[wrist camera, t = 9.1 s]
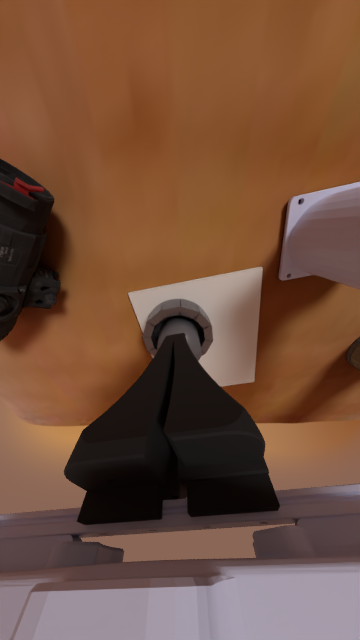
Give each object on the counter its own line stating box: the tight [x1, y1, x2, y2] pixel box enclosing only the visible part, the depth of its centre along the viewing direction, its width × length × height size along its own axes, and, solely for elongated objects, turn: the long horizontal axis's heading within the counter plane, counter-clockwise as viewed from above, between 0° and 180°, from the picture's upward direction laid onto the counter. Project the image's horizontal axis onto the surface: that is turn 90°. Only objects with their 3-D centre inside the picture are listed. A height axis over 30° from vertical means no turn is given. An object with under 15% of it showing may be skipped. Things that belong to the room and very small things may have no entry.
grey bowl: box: [142, 299, 213, 356], centre depth 20 cm, size 8×8×3 cm
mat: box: [128, 267, 263, 387], centre depth 23 cm, size 16×20×1 cm
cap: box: [156, 315, 202, 361], centre depth 19 cm, size 5×5×5 cm
